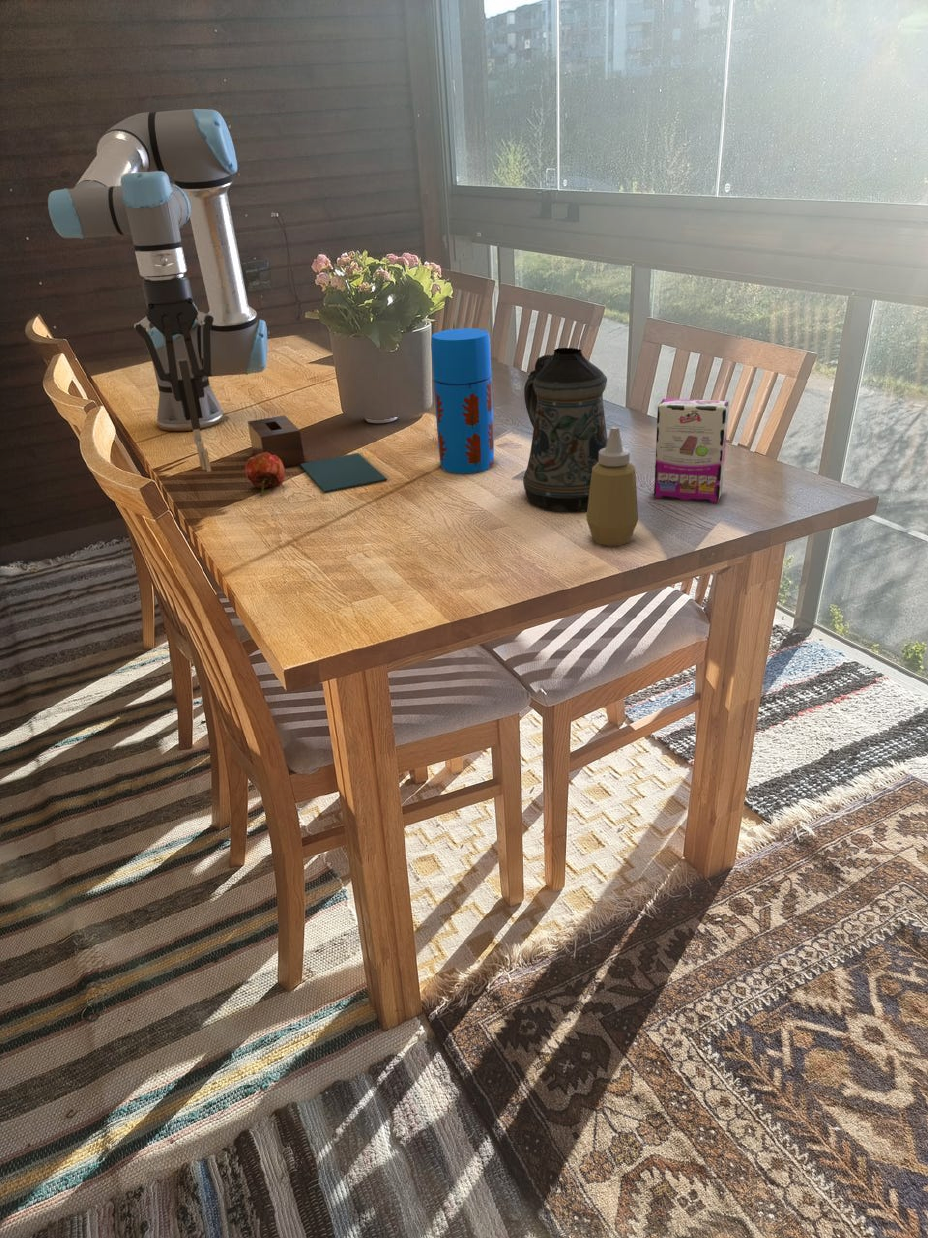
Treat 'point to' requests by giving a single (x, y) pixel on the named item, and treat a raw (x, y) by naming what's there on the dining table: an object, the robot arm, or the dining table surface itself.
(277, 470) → the red round fruit
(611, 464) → the squeeze bottle
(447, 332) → the thermos
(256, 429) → the fork stand
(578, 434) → the beer stein
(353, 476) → the mat
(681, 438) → the candy bar box
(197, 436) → the fork
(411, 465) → the dining table surface
